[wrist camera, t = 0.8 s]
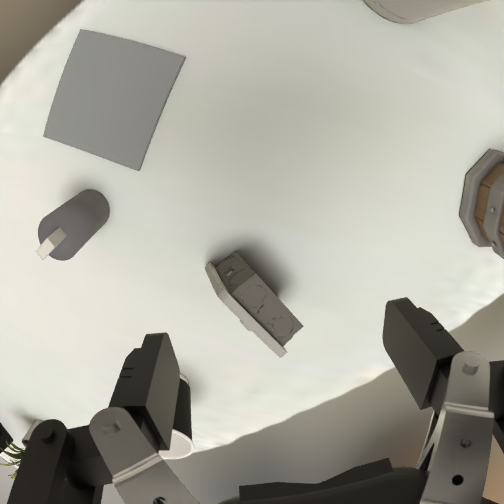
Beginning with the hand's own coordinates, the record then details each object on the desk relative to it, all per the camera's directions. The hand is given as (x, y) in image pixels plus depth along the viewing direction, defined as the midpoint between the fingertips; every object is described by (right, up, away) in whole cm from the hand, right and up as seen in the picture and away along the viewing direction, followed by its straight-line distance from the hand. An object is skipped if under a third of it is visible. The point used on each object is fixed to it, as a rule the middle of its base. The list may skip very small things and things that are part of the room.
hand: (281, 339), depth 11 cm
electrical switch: (-1, 0, +25) cm, 25 cm away
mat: (-15, +18, +16) cm, 29 cm away
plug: (-18, +8, +21) cm, 29 cm away
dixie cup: (-12, -15, +32) cm, 38 cm away
